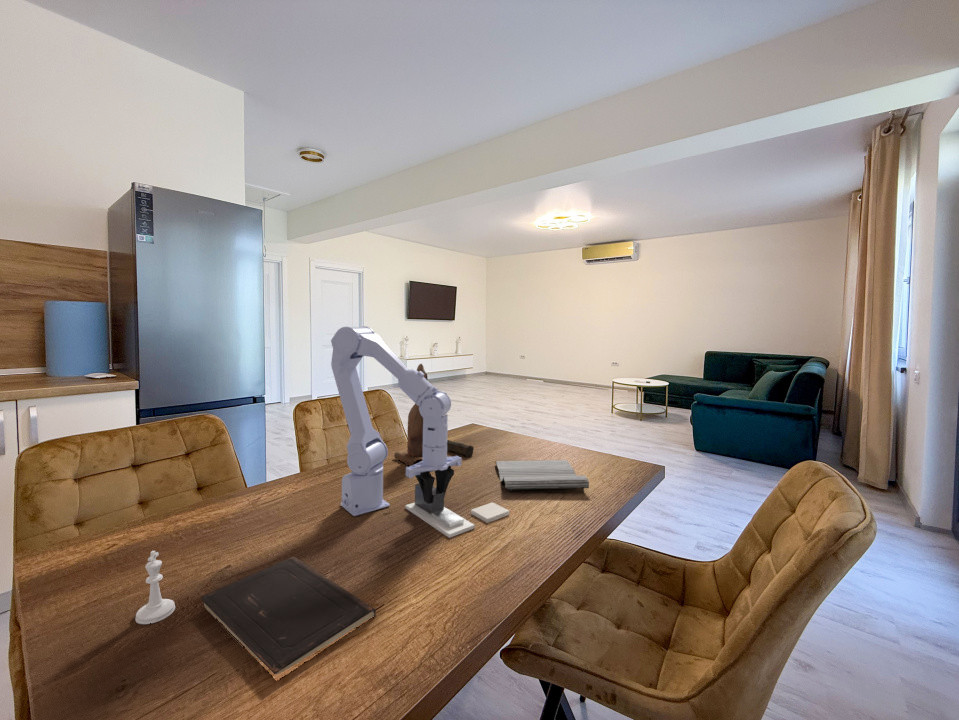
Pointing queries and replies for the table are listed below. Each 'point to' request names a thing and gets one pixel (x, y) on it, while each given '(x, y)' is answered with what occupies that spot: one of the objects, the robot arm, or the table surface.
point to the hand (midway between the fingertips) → (434, 500)
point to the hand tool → (460, 448)
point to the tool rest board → (436, 524)
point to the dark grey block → (437, 507)
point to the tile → (490, 512)
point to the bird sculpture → (413, 434)
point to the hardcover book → (286, 612)
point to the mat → (539, 475)
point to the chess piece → (154, 596)
